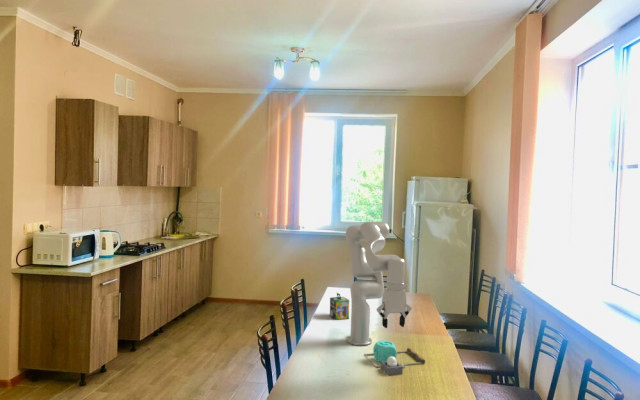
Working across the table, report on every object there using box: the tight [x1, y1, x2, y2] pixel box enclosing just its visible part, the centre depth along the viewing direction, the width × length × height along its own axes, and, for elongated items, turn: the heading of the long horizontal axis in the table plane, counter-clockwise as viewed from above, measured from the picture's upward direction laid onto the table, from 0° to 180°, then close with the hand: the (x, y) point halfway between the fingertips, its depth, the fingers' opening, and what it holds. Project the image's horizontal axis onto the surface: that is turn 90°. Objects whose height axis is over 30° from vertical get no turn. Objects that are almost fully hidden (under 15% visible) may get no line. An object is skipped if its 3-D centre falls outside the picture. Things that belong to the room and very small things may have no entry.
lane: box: [363, 347, 426, 369], centre depth 207 cm, size 20×24×2 cm
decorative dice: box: [372, 340, 398, 364], centre depth 206 cm, size 8×8×8 cm
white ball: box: [387, 356, 398, 367], centre depth 194 cm, size 4×4×4 cm
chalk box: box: [329, 292, 350, 321], centre depth 269 cm, size 9×9×15 cm
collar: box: [380, 361, 404, 376], centre depth 194 cm, size 7×7×3 cm
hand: (393, 326), depth 193 cm, fingers open, 7 cm apart
